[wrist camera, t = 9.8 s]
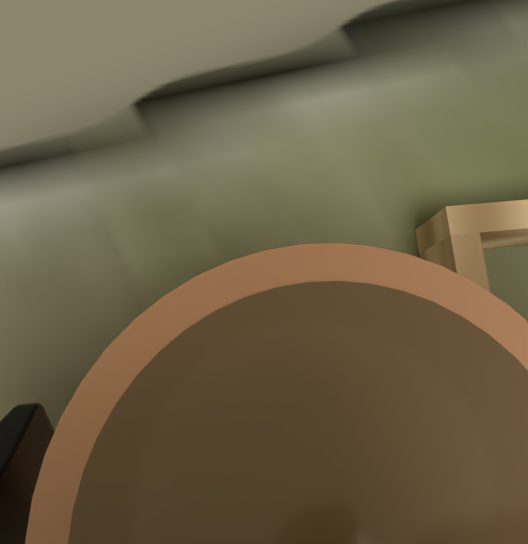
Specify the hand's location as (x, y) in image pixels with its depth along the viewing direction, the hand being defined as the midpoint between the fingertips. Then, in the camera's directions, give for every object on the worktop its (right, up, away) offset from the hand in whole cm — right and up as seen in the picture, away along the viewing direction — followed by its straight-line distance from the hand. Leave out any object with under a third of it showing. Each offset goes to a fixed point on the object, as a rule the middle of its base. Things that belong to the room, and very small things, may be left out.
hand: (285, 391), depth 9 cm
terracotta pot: (0, -3, +8) cm, 8 cm away
